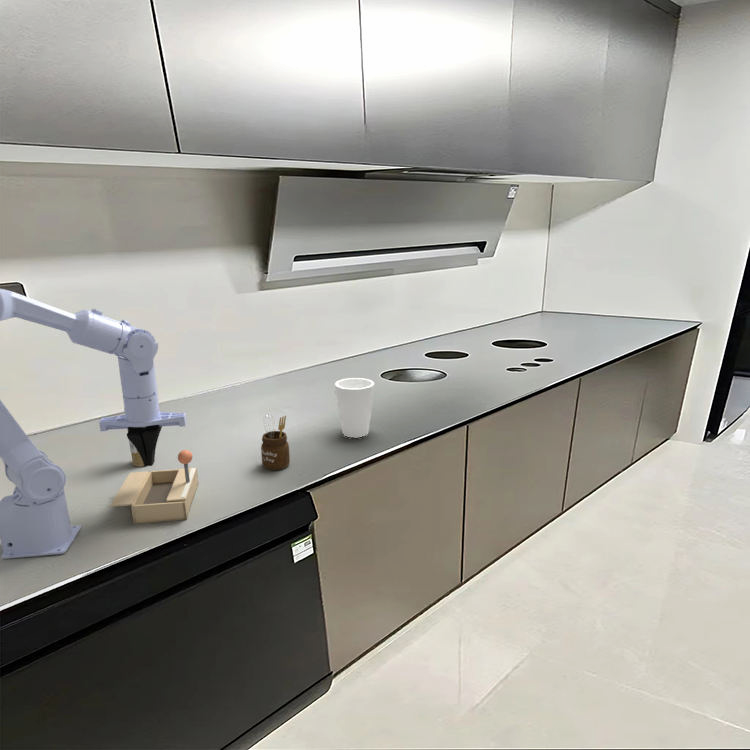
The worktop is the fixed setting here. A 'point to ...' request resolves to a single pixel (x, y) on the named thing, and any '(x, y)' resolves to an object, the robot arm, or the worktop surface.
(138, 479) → the carton
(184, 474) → the flap
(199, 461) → the worktop surface
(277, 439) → the utensil holder
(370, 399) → the foam cup
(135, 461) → the sprinkles bottle
